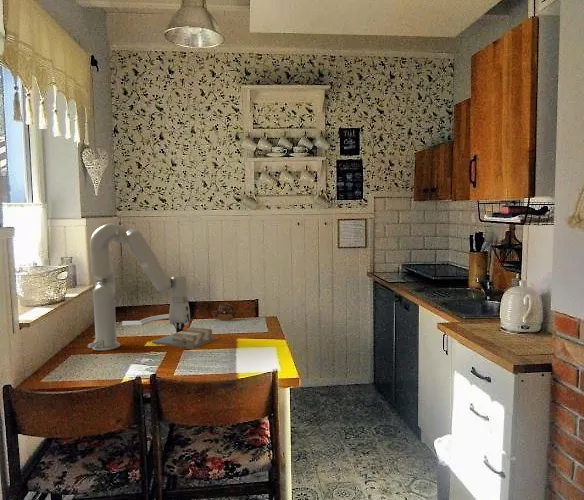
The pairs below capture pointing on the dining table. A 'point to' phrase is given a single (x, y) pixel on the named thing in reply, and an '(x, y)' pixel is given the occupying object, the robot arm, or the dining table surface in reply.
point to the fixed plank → (197, 336)
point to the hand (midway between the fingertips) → (179, 336)
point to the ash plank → (178, 336)
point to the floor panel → (169, 341)
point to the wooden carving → (224, 312)
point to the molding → (145, 320)
